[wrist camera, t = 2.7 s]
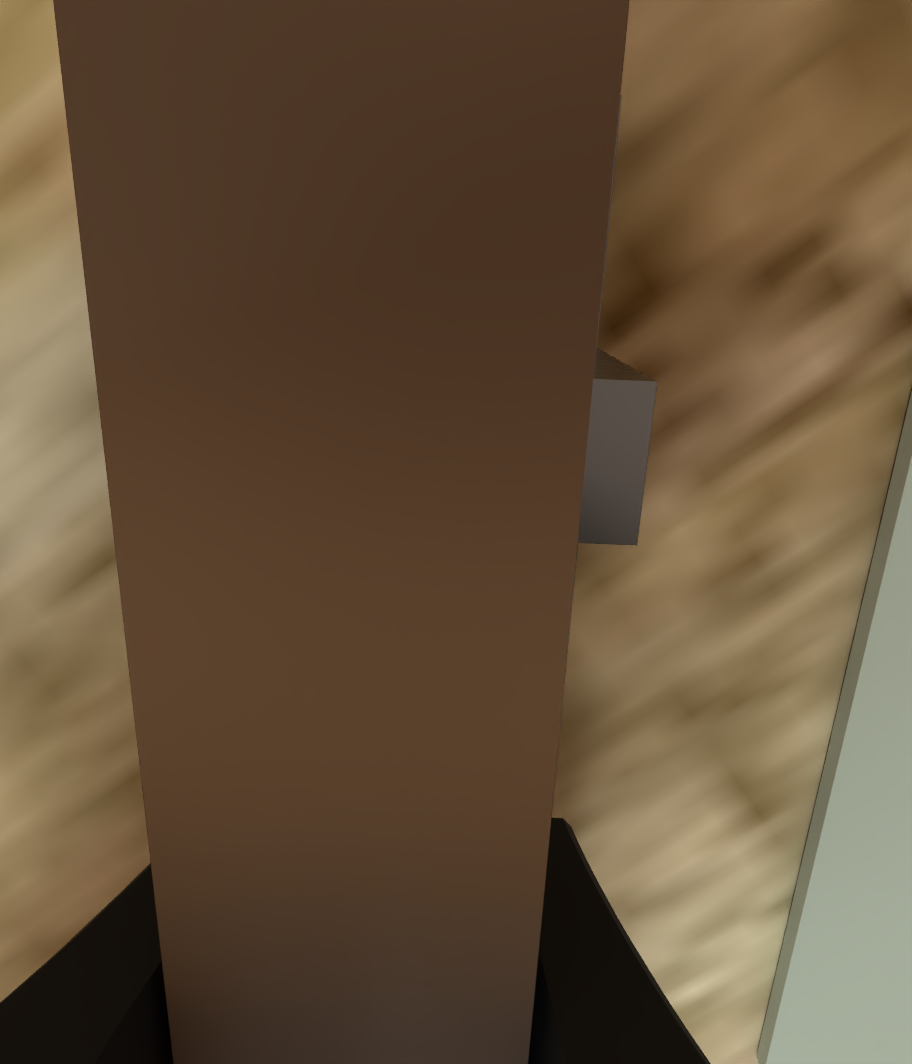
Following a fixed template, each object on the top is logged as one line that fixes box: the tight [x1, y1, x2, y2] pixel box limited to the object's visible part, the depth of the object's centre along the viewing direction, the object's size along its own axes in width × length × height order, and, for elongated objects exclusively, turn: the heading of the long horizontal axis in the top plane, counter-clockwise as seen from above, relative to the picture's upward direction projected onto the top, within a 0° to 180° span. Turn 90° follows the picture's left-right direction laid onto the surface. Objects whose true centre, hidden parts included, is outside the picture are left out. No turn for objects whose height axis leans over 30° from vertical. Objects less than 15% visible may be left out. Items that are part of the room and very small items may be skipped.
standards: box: [551, 95, 657, 817], centre depth 11 cm, size 18×5×5 cm, turn 178°
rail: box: [53, 0, 629, 1064], centre depth 7 cm, size 16×3×3 cm, turn 178°
